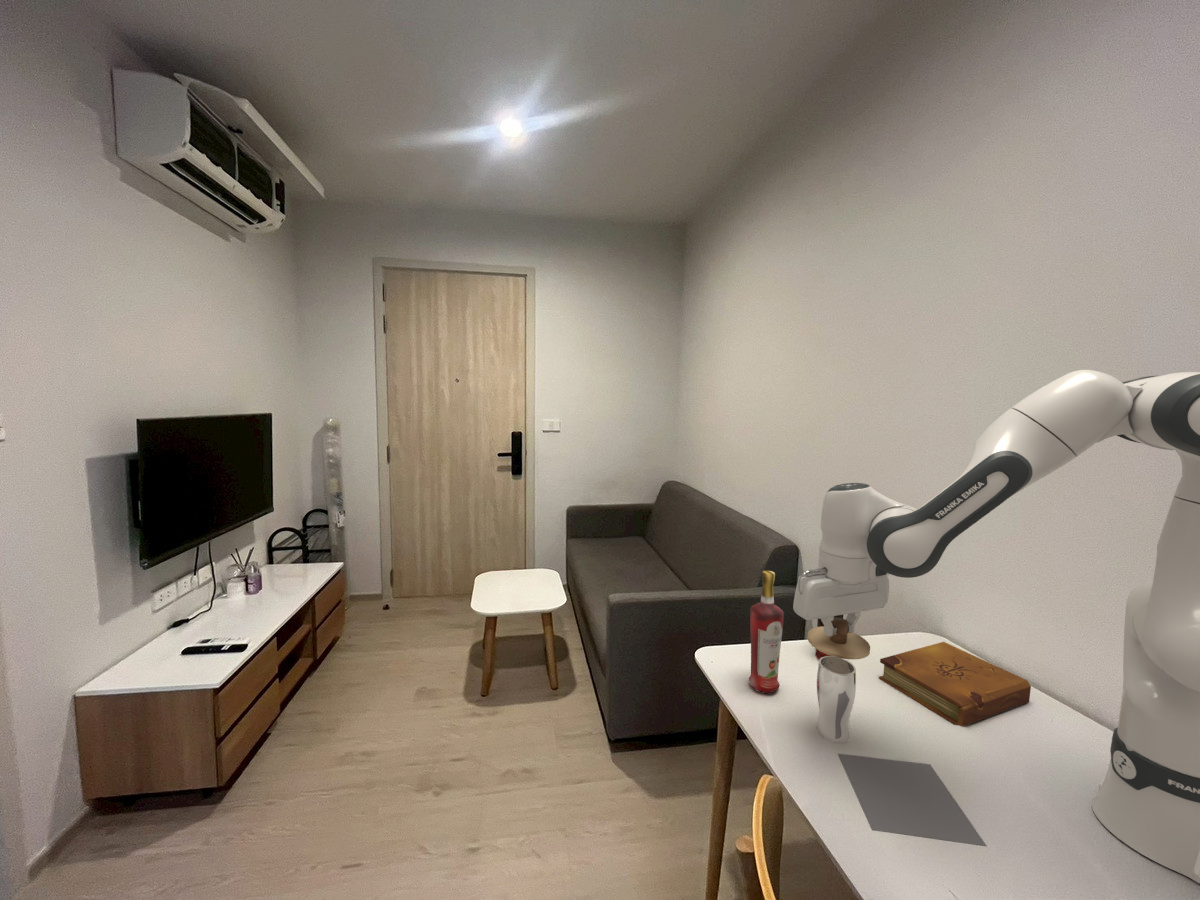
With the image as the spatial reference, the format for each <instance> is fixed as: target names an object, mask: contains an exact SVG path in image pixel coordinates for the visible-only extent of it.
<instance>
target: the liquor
mask: <svg viewBox="0 0 1200 900" xmlns="http://www.w3.org/2000/svg"><path fill="white" fill-rule="evenodd" d="M761 573H762V576H761V580H762V581H761V582H762V589H761V595H760V596H761V597H760V601H759V602H756V603H754V604H753V605H751V606H750V609H749V610H750V614H749V615H750V616H749V617H750V619H749V621H750V624H749V625H750V629H749V630H750V675H749V677H748V682H749V684H750V685H751V686H752V688H754V689H755V690H756V691H757V690H758V691H757V692H759V691H760V693H762V692H764V693H763V694H771V693H772V692H774V691H776V690H778V689H779V688H780V682H779V679H778V677H779V666H780V655H781V646H782V636H783V626H784V617H785V615H784V614H785V613H784V611H783V609H781V608H780V606H778V605H776V604H775V599H774V598H775V596H774V585H775V584H774V583H775V579H776V578H775V577H776V573H775V572H774V571H772V570H763V571H762V572H761ZM770 692H771V693H770Z"/></svg>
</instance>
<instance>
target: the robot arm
mask: <svg viewBox="0 0 1200 900" xmlns="http://www.w3.org/2000/svg"><path fill="white" fill-rule="evenodd" d="M1116 436H1117V437H1119V438H1121V439H1124V440H1126V441H1129V442H1134V443H1138V444H1142V445H1145V446H1148V447H1152V448H1157V449H1161V450H1167V451H1168V450H1169V451H1175V452H1176V453H1177V455H1178V456H1179V459H1180V462H1181V468H1182V469H1181V477H1180V480H1179V482H1178V484H1177V486H1176V489H1175V492H1174V495H1173V498H1172V501H1171V503H1170V505H1169V506H1170V507H1169V508H1168V513H1167V515H1166V518H1165V521H1164V524H1163V527H1162V530H1161V532H1160V535H1159V539H1158V541H1157V545H1156V560H1155V567H1154V574H1153V579H1152V580H1148V581H1143V582H1142V583H1140V584H1138V585H1137V586H1135V587H1134V588H1133V589H1132V590H1131V592H1130V593H1129V594H1128V597H1127V599H1126V603H1125V615H1124V628H1123V655H1122V656H1123V662H1122V667H1123V668H1122V669H1123V673H1122V675H1123V676H1122V677H1123V678H1122V679H1123V681H1122V683H1123V685H1122V693H1121V700H1120V709H1119V715H1118V716H1119V717H1118V724H1117V727H1116V728H1114V730H1113V732H1112V737H1111V743H1110V748H1109V750H1110V752H1109V753H1110V761H1109V763H1108V768H1107V770H1106V773H1105V777H1104V779H1103V780H1102V781H1101V782H1100V784H1099V787H1098V788H1099V789H1098V792H1097V794H1096V796H1095V797H1094V798H1093V800H1092V803H1091V807H1092V811H1093V813H1094V814H1095V816H1096V818H1097V819H1098V821H1099V822H1100V823H1101V824H1102V825H1103V826H1104V827H1105V828H1106V829H1107V830H1108V831H1109V832H1111V833H1112V834H1113V835H1114V836H1115V837H1116V838H1117V839H1118V840H1120V841H1121V842H1123V843H1124V844H1126V845H1127V846H1128V847H1130V848H1131V849H1132V850H1135V851H1136V852H1137V853H1139V854H1141V855H1143V856H1145V857H1147V858H1148V859H1150V860H1152V861H1153V862H1156V863H1157V864H1160V865H1161V866H1163V867H1166V868H1168V869H1170V870H1172V871H1174V872H1177V873H1178V874H1180V875H1183V876H1184V877H1185V876H1186V877H1188V878H1189V879H1191V880H1193V881H1194V882H1196V883H1198V884H1199V885H1200V371H1182V372H1181V371H1180V372H1173V373H1167V374H1163V375H1148V376H1142V377H1138V378H1133V379H1130V380H1124V381H1120V380H1119V379H1118V378H1116V377H1115V376H1113V375H1110V374H1109V373H1106V372H1102V371H1099V370H1093V369H1078V370H1074V371H1070V372H1068V373H1066V374H1065V375H1062V376H1060V377H1058V378H1056V379H1054V380H1052V381H1050V382H1048V383H1047V384H1045V385H1044V386H1041V387H1040V388H1039V389H1036V390H1035V391H1034V392H1032V393H1030V394H1029V395H1028V396H1027V395H1026V397H1024V398H1023V399H1021V400H1020V401H1019V402H1017V403H1015V404H1014V405H1013V406H1011V407H1010V408H1009V409H1007V410H1005V412H1004V413H1002V414H1001V415H999V416H998V417H997V418H996V419H995V420H993V422H992V423H990V424H989V426H988V427H987V428H986V429H985V430H984V431H983V432H982V433H981V434H980V435H979V436H978V437H977V439H976V441H975V444H974V447H973V452H972V456H971V458H970V460H969V463H968V465H967V467H966V468H965V469H964V471H963V472H962V473H961V474H960V475H959V476H958V477H957V478H956V479H955V480H954V481H952V482H951V483H949V485H947V486H946V487H945V488H944V489H942V490H941V491H940V492H938V493H936V494H935V495H934V496H932V498H931V499H929V500H928V501H927V502H925V503H924V504H923V505H921V506H920V507H919V508H917V507H914V506H912V505H908V504H906V503H902V502H899V501H897V500H894V499H892V498H889V497H888V496H886V495H884V494H882V493H880V492H879V491H877V489H876V490H875V489H874V488H873V487H872V486H871V485H869V484H867V483H861V482H860V483H859V482H849V483H847V482H846V483H840V484H836V485H833V486H832V487H830V488H829V489H828V490H827V491H826V493H825V495H824V497H823V498H824V499H823V502H822V507H821V508H822V509H821V517H820V529H821V541H820V543H819V548H818V549H819V550H818V563H817V568H815V569H807V570H804V572H803V573H802V574H801V575H800V576H798V579H797V584H796V587H795V592H794V598H793V605H792V606H793V607H792V609H793V611H794V613H795V614H796V615H797V616H799V617H800V618H802V619H803V620H806V621H813V620H818V619H821V621H822V622H823V624H824V633H825V634H826V635H827V636H829V637H831V636H836V635H837V633H836V631H837V628H836V627H835V626H833V625H832V623H831V621H833V619H834V616H837V615H843V616H844V615H846V617H845V618H844V619H845V620H847V621H848V632H847V633H852V632H853V633H855V626H856V624H857V623H858V621H859V619H860V617H861V613H862V612H867V611H873V610H878V609H883V608H885V606H886V605H887V603H888V601H889V595H890V594H889V593H890V579H889V575H891V576H895V577H899V578H907V579H911V578H917V577H922V576H924V575H926V574H928V573H929V572H931V571H932V570H933V569H934V568H935V567H936V566H937V564H938V563H939V561H940V560H941V558H942V556H943V554H944V552H945V550H947V548H948V546H949V545H950V544H951V542H952V541H954V540H955V539H957V537H959V536H960V535H961V534H962V533H964V532H965V531H966V530H968V529H969V528H970V527H972V526H973V525H974V524H976V523H977V522H978V521H980V520H981V519H983V518H984V517H986V516H987V515H989V513H991V512H992V511H994V510H995V509H996V508H997V507H999V506H1000V505H1002V504H1003V503H1004V502H1005V501H1007V500H1008V499H1009V498H1011V497H1012V496H1014V495H1016V494H1018V493H1019V492H1021V491H1022V490H1024V489H1026V488H1028V487H1029V486H1031V485H1032V484H1035V483H1036V482H1038V481H1039V480H1041V479H1043V478H1045V477H1047V476H1048V475H1050V474H1051V473H1054V472H1055V471H1056V470H1058V469H1060V468H1061V467H1063V466H1065V465H1066V464H1069V462H1071V461H1073V460H1074V459H1076V458H1077V457H1079V456H1080V455H1082V454H1083V453H1084V452H1086V451H1087V450H1089V449H1090V448H1092V446H1094V445H1095V444H1096V443H1100V442H1102V441H1105V440H1106V439H1109V438H1112V437H1116Z"/></svg>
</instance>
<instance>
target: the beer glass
mask: <svg viewBox="0 0 1200 900" xmlns="http://www.w3.org/2000/svg"><path fill="white" fill-rule="evenodd" d="M856 670H857V669H856V666H855V665H854V664H853V663H852V662H851V661H848V659H843V658H838V657H834V656H825V657H822V658H820V660H819V659H818V667H817V675H816V694H817V701H818V709H819V711H818V712H819V713H818V714H819V716H818V720H817V723H816V731H817V733H818V735H819V736H821V737H822V738H823V739H825V740H827V741H830V742H832V743H836V744H845V743H848V742H849V741H850V739H851V735H850V730H849V729H850V728H849V722H850V717H851V713H852V709H853V706H854V703H855V698H856V690H857V687H856V686H857V677H856V676H857V675H856Z"/></svg>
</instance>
